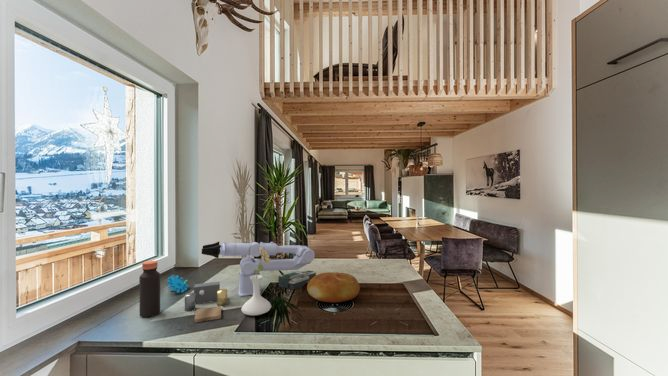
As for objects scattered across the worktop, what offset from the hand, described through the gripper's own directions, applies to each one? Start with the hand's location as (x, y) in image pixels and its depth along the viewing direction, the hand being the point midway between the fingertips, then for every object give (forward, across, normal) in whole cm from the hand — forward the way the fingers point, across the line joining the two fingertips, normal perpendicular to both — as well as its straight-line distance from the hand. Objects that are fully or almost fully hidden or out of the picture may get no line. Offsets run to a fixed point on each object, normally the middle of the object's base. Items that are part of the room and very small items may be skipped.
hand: (202, 249), depth 125 cm
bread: (-57, +18, +18) cm, 62 cm away
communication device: (-48, -6, +19) cm, 51 cm away
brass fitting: (-10, +10, +21) cm, 25 cm away
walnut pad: (-5, +19, +22) cm, 29 cm away
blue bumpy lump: (+9, -14, +22) cm, 28 cm away
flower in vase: (-23, +22, +20) cm, 38 cm away
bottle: (+16, +9, +23) cm, 30 cm away
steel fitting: (+2, +10, +22) cm, 24 cm away
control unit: (-4, +3, +21) cm, 22 cm away
